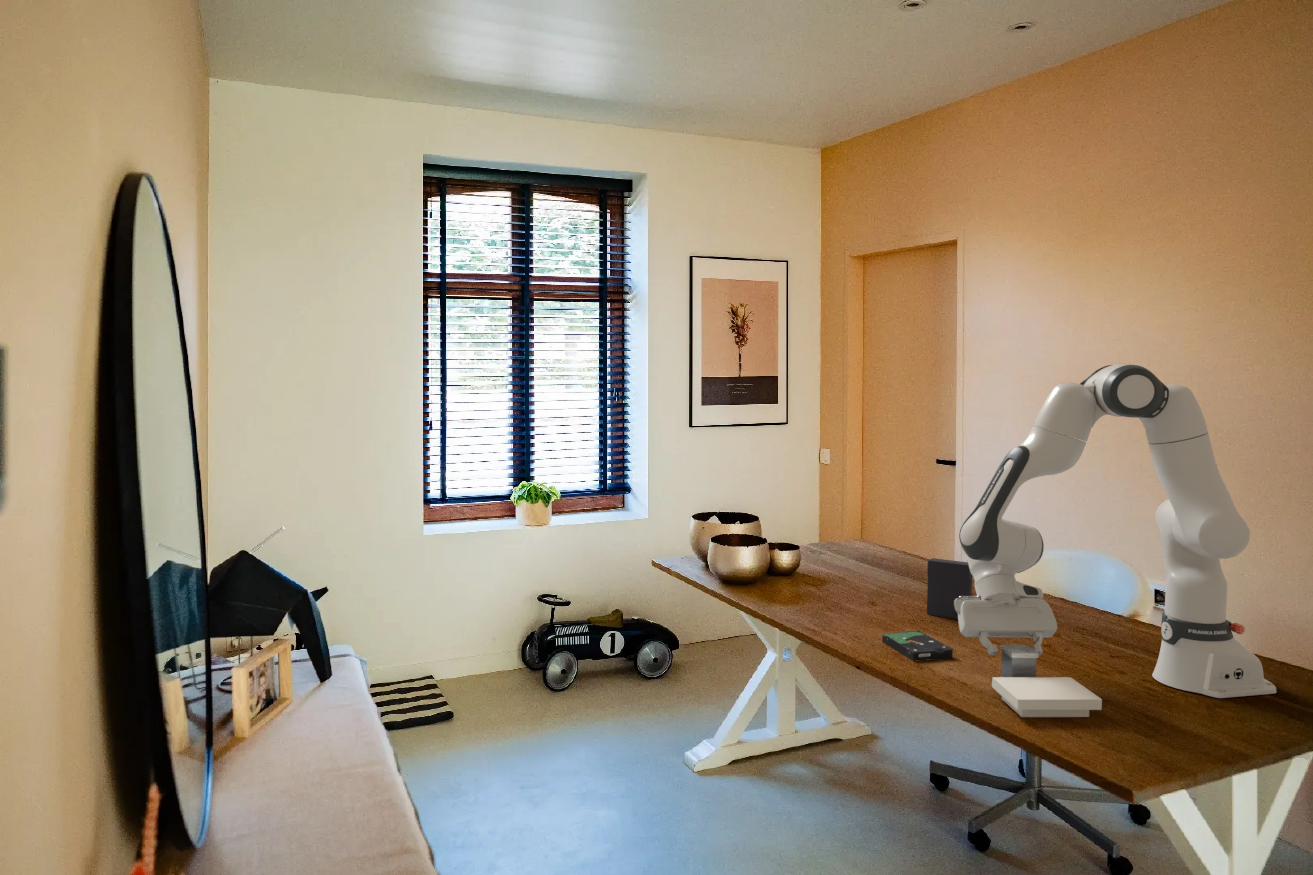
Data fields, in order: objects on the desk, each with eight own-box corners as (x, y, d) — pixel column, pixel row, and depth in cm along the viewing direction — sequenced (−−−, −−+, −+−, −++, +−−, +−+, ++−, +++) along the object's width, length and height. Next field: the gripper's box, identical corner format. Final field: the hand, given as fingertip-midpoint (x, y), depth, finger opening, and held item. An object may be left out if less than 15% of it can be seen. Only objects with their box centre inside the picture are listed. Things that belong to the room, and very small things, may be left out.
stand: (1069, 696, 178) (1070, 677, 177) (1100, 719, 166) (1101, 699, 165) (991, 696, 177) (992, 677, 177) (1017, 720, 165) (1017, 699, 165)
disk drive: (953, 660, 201) (918, 640, 215) (954, 649, 201) (919, 629, 215) (913, 664, 199) (880, 643, 213) (913, 652, 198) (881, 632, 213)
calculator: (971, 617, 234) (973, 562, 233) (967, 621, 231) (969, 565, 230) (930, 611, 240) (931, 557, 239) (925, 614, 237) (927, 560, 235)
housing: (1025, 681, 186) (1026, 644, 186) (1037, 690, 181) (1038, 653, 180) (999, 681, 186) (1000, 644, 186) (1010, 691, 181) (1011, 653, 180)
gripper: (955, 588, 191) (971, 646, 182) (1049, 589, 191) (1068, 647, 182) (948, 603, 195) (962, 660, 186) (1038, 603, 196) (1057, 661, 187)
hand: (1015, 654), depth 184 cm, fingers open, 8 cm apart
